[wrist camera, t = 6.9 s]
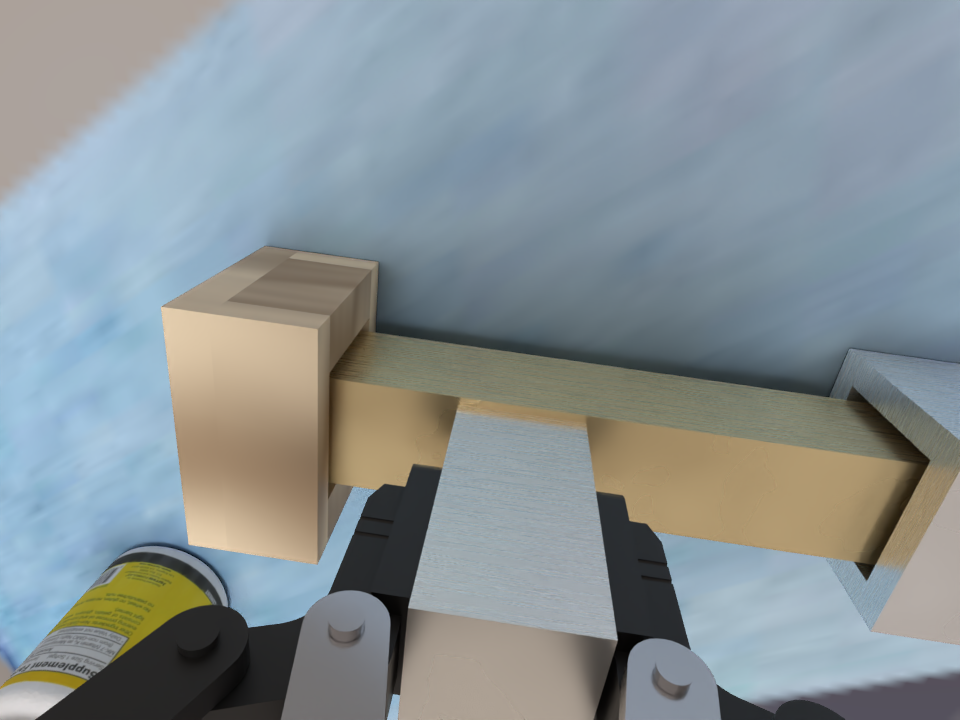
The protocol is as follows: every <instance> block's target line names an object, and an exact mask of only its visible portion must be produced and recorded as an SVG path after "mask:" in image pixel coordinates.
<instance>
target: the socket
mask: <svg viewBox="0 0 960 720" xmlns="http://www.w3.org/2000/svg"><path fill="white" fill-rule="evenodd" d="M378 266H379V262H376V261H369V260H362V259H355V258H347V257H340V256H333V255H326V254H319V253H312V252H304V251H297V250H290V249H283V248H276V247H268V246H264V247H262V248H261V249H259V250H257V251H256V252H254V253H252V254H250V255H249V256H247V257H245V258H244V259H242V260H240V261H238V262H237V263H235V264H233V265H232V266H230V267H228V268H226V269H225V270H223V271H221V272H220V273H218V274H216V275H215V276H213V277H211V278H209V279H208V280H206V281H204V282H203V283H201V284H199V285H197V286H196V287H194V288H192V289H191V290H189V291H187V292H185V293H184V294H182V295H180V296H179V297H177V298H175V299H174V300H172V301H170V302H168V303H167V304H165V305H163V306H162V307H161V311H162V319H163V328H164V337H165V345H166V354H167V362H168V371H169V379H170V388H171V396H172V405H173V414H174V422H175V431H176V439H177V448H178V456H179V465H180V474H181V482H182V491H183V499H184V508H185V516H186V525H187V533H188V542H189V545H194V546H200V547H207V548H213V549H220V550H226V551H233V552H239V553H246V554H252V555H259V556H265V557H271V558H278V559H284V560H291V561H297V562H304V563H310V564H318V562H319V560H320V558H321V556H322V553H323V551H324V549H325V547H326V545H327V543H328V540H329V538H330V536H331V534H332V532H333V530H334V527H335V525H336V523H337V521H338V519H339V516H340V514H341V512H342V510H343V508H344V506H345V503H346V501H347V499H348V497H349V495H350V492H351V490H352V488H353V486H348V485H341V484H335V483H328V458H329V373H330V372H331V370H332V369H333V367H334V366H335V365H336V363H337V362H338V361H339V359H340V358H341V356H342V355H343V354H344V352H345V351H346V350H347V348H348V347H349V345H350V344H351V343H352V341H353V340H354V338H355V337H356V336H357V334H358V333H359V332H360V330H361V331H368V332H375V331H376V309H377V288H378Z"/></svg>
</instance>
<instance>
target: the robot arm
mask: <svg viewBox="0 0 960 720" xmlns="http://www.w3.org/2000/svg"><path fill="white" fill-rule="evenodd" d="M441 472H442V468H441V467H434V466H427V465H420V464H413V465H412V468H411V471H410V474H409V477H408V480H407V483H406V486H405V487H404V486H397V485H390V484H383V485H382V486H381V487H380V488H379V489H378V490H377V491H375V492H374V493H373V494H372V495H371V496H370V497H369V498H368V499H367V502H366V504H365V507H364V509H363V512H362V514H361V518H360V519H359V521H358V524H357V526H356V529H355V532H354V535H353V536H352V539H351V541H350V543H349V546H348V548H347V551H346V553H345V556H344V558H343V561H342V563H341V565H340V568H339V570H338V573H337V575H336V578H335V580H334V582H333V585H332V587H331V590H330V592H329V594H328V595H327V596H325V597H323V598H322V599H320V600H319V601H317V602H316V603H315V604H314V605H313V606H312V607H311V608H310V609H309V610H308V612H307V613H306V615H305V616H303V617H301V618H299V619H297V620H293V621H290V622H286V623H281V624H274V625H266V626H258V627H251V628H248V626H247V623H246V621H245V619H244V618H243V617H242V615H241V614H239V613H238V612H237V611H235V610H233V609H231V608H229V607H225V606H220V605H204V606H198V607H194V608H191V609H188V610H186V611H183V612H181V613H179V614H177V615H175V616H174V617H172V618H171V619H169V620H168V621H166V622H165V623H164V624H162V625H161V626H160V627H158V628H157V629H156V630H154V631H153V632H152V633H150V634H149V635H148V636H146V637H145V638H144V639H142V640H141V641H140V642H138V643H137V644H136V645H134V646H133V647H132V648H130V649H129V650H128V651H126V652H125V653H124V654H122V655H121V656H120V657H118V658H117V659H116V660H114V661H113V662H112V663H110V664H109V665H108V666H106V667H105V668H104V669H102V670H101V671H100V672H98V673H97V674H96V675H94V676H93V677H91V678H90V679H89V680H87V681H86V682H85V683H83V684H82V685H81V686H79V687H78V688H77V689H75V690H74V691H73V692H71V693H70V694H69V695H67V696H66V697H65V698H63V699H62V700H61V701H59V702H58V703H57V704H55V705H54V706H53V707H51V708H50V709H49V710H47V711H46V712H45V713H43V714H42V715H41V716H39V717H38V718H37V719H35V720H387V717H388V713H389V709H390V704H391V700H392V696H393V694H397V695H400V691H401V680H402V669H403V658H404V647H405V636H406V626H407V615H408V606H409V602H410V598H411V594H412V590H413V586H414V582H415V578H416V574H417V570H418V566H419V562H420V558H421V553H422V549H423V545H424V541H425V537H426V533H427V529H428V525H429V521H430V517H431V513H432V509H433V505H434V501H435V497H436V493H437V489H438V485H439V480H440V476H441ZM596 496H597V503H598V509H599V516H600V523H601V530H602V537H603V543H604V550H605V557H606V564H607V571H608V577H609V584H610V591H611V598H612V605H613V611H614V618H615V625H616V632H617V639H618V641H617V645H616V648H615V651H614V655H613V658H612V661H611V664H610V668H609V671H608V674H607V677H606V681H605V684H604V687H603V690H602V694H601V697H600V700H599V703H598V707H597V710H596V713H595V717H594V720H845V719H844V718H842V717H841V716H840V715H838V714H837V713H835V712H833V711H832V710H830V709H828V708H826V707H824V706H822V705H820V704H816V703H814V702H810V701H805V700H793V701H788V702H786V703H784V704H782V705H781V706H780V707H779V708H778V710H777V711H776V713H775V714H773V713H771V712H769V711H767V710H765V709H762V708H760V707H758V706H756V705H754V704H751V703H749V702H747V701H745V700H742V699H740V698H738V697H736V696H734V695H732V694H730V693H729V692H727V691H726V690H724V689H722V688H721V687H720V686H718V685H717V684H716V681H715V679H714V676H713V674H712V673H711V671H710V669H709V668H708V666H707V665H706V664H705V663H704V662H703V660H702V659H701V658H700V657H699V656H697V655H696V654H695V653H694V652H692V651H691V649H690V646H689V642H688V638H687V635H686V631H685V627H684V624H683V620H682V616H681V613H680V609H679V605H678V601H677V598H676V594H675V590H674V587H673V584H671V581H672V579H671V575H670V572H669V568H668V567H667V561H666V557H665V553H664V550H663V546H662V543H661V541H660V540H659V539H658V537H657V536H656V535H655V534H654V532H653V531H652V530H651V528H650V527H649V526H648V525H647V524H646V523H639V522H632V521H630V520H629V516H628V511H627V506H626V501H625V498H624V496H623V495H618V494H611V493H605V492H598V491H596Z"/></svg>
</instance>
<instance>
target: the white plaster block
mask: <svg viewBox="0 0 960 720" xmlns="http://www.w3.org/2000/svg"><path fill="white" fill-rule="evenodd" d="M829 397H830V398H837V399H844V400H851V401H858V402H865V403H871V404H872V405H873V406H874V407H875V408H876V409H877V410H878V411H879V412H880V413H881V414H882V415H883V416H884V417H885V418H886V419H887V420H889V421H890V422H891V423H892V424H893V425H894V426H895V427H896V428H897V429H898V430H899V431H900V432H901V433H902V434H903V435H904V436H905V437H906V438H908V439H909V440H910V441H911V442H912V443H913V444H914V445H915V446H916V447H917V448H918V449H919V450H920V451H921V452H922V453H923V454H924V455H925V456H927V457H928V458H929V459H930V460H931V461H930V463H929V464H928V466H927V468H926V470H925V472H924V474H923V476H922V478H921V480H920V482H919V483H918V485H917V487H916V489H915V491H914V493H913V495H912V497H911V499H910V501H909V502H908V504H907V506H906V508H905V510H904V512H903V514H902V516H901V518H900V519H899V521H898V523H897V525H896V527H895V529H894V531H893V533H892V535H891V537H890V538H889V540H888V542H887V544H886V546H885V548H884V550H883V552H882V554H881V556H880V557H879V559H878V561H877V563H876V565H873V564H866V563H859V562H853V561H846V560H839V559H833V558H826V557H825V558H826V560H827V561H828V563H829V564H830V566H831V568H832V569H833V571H834V573H835V574H836V576H837V578H838V579H839V581H840V582H841V584H842V586H843V587H844V589H845V591H846V592H847V594H848V595H849V597H850V599H851V600H852V602H853V604H854V605H855V607H856V608H857V610H858V612H859V613H860V615H861V617H862V618H863V620H864V621H865V623H866V625H867V626H868V628H869V630H870V631H872V632H878V633H885V634H891V635H898V636H904V637H911V638H917V639H924V640H930V641H937V642H943V643H950V644H956V645H960V364H958V363H951V362H943V361H936V360H929V359H922V358H915V357H908V356H901V355H894V354H887V353H879V352H872V351H865V350H858V349H851V348H849V351H848V353H847V355H846V358H845V360H844V363H843V365H842V367H841V370H840V372H839V375H838V377H837V379H836V382H835V384H834V387H833V389H832V391H831V394H830V396H829Z"/></svg>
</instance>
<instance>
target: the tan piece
mask: <svg viewBox="0 0 960 720" xmlns="http://www.w3.org/2000/svg"><path fill="white" fill-rule="evenodd" d="M930 461H931V460H930V459H929V458H928V457H927V456H925V455H924V454H923V453H922V452H921V451H920V450H919V449H918V448H917V447H916V446H915V445H914V444H913V443H912V442H911V441H910V440H909V439H908V438H906V437H905V436H904V435H903V434H902V433H901V432H900V431H899V430H898V429H897V428H896V427H895V426H894V425H893V424H892V423H891V422H890V421H889V420H887V419H886V418H885V417H884V416H883V415H882V414H881V413H880V412H879V411H878V410H877V409H876V408H875V407H874V406H873V405H872V404H871V403H865V402H858V401H851V400H844V399H837V398H830V397H823V396H816V395H809V394H802V393H795V392H788V391H781V390H774V389H767V388H760V387H753V386H746V385H739V384H732V383H725V382H718V381H711V380H704V379H697V378H690V377H683V376H676V375H669V374H662V373H655V372H648V371H641V370H634V369H627V368H620V367H613V366H606V365H599V364H592V363H585V362H578V361H571V360H564V359H557V358H550V357H543V356H536V355H529V354H522V353H515V352H508V351H501V350H494V349H487V348H480V347H473V346H466V345H459V344H452V343H445V342H438V341H431V340H424V339H417V338H410V337H403V336H396V335H389V334H382V333H375V332H368V331H361V330H360V332H359V333H358V334H357V336H356V337H355V338H354V340H353V341H352V343H351V344H350V345H349V347H348V348H347V350H346V351H345V352H344V354H343V355H342V356H341V358H340V359H339V361H338V362H337V363H336V365H335V366H334V367H333V369H332V370H331V372H330V373H329V458H328V483H335V484H341V485H348V486H355V487H361V488H368V489H375V490H378V489H379V488H380V487H381V486H382V485H383V484H390V485H397V486H404V487H405V486H406V483H407V480H408V477H409V474H410V471H411V468H412V465H413V464H420V465H427V466H434V467H441V468H442V472H441V476H440V480H439V485H438V489H437V493H436V497H435V501H434V505H433V509H432V513H431V517H430V521H429V525H428V529H427V533H426V537H425V541H424V545H423V549H422V553H421V558H420V562H419V566H418V570H417V574H416V578H415V582H414V586H413V590H412V594H411V598H410V602H409V606H408V615H407V626H406V636H405V647H404V658H403V669H402V680H401V691H400V702H399V713H398V720H594V717H595V713H596V710H597V707H598V703H599V700H600V697H601V694H602V690H603V687H604V684H605V681H606V677H607V674H608V671H609V668H610V664H611V661H612V658H613V655H614V651H615V648H616V645H617V641H618V639H617V632H616V625H615V618H614V611H613V605H612V598H611V591H610V584H609V577H608V571H607V564H606V557H605V550H604V543H603V537H602V530H601V523H600V516H599V509H598V503H597V496H596V491H598V492H605V493H611V494H618V495H623V496H624V498H625V501H626V506H627V511H628V516H629V520H630V521H632V522H639V523H646V524H647V525H648V526H649V527H650V528H651V530H652V531H653V532H660V533H667V534H673V535H680V536H687V537H693V538H700V539H707V540H713V541H720V542H727V543H733V544H740V545H746V546H753V547H760V548H766V549H773V550H780V551H786V552H793V553H800V554H806V555H813V556H819V557H826V558H833V559H839V560H846V561H853V562H859V563H866V564H873V565H876V563H877V561H878V559H879V557H880V556H881V554H882V552H883V550H884V548H885V546H886V544H887V542H888V540H889V538H890V537H891V535H892V533H893V531H894V529H895V527H896V525H897V523H898V521H899V519H900V518H901V516H902V514H903V512H904V510H905V508H906V506H907V504H908V502H909V501H910V499H911V497H912V495H913V493H914V491H915V489H916V487H917V485H918V483H919V482H920V480H921V478H922V476H923V474H924V472H925V470H926V468H927V466H928V464H929V463H930Z"/></svg>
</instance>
